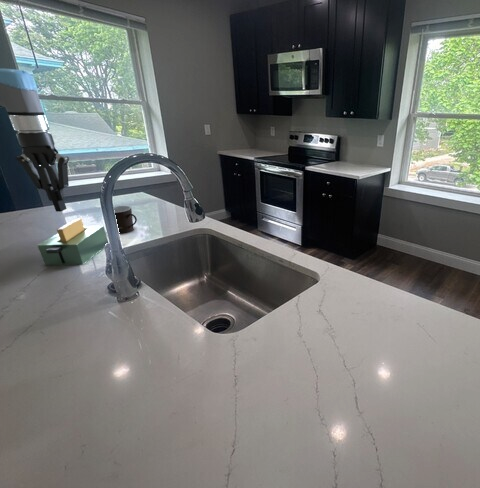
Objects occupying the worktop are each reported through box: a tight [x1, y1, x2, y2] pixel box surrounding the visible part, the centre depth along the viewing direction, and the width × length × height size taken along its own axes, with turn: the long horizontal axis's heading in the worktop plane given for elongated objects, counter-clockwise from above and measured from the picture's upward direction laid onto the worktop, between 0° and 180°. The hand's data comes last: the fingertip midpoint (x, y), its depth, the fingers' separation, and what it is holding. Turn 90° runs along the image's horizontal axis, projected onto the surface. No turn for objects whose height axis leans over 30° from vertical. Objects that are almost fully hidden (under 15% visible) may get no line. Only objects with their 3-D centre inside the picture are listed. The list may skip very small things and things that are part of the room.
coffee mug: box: [113, 205, 138, 235], centre depth 120 cm, size 12×9×10 cm
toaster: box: [37, 225, 109, 266], centre depth 102 cm, size 11×16×8 cm
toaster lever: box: [46, 247, 63, 254], centre depth 92 cm, size 3×2×1 cm
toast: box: [56, 218, 85, 242], centre depth 101 cm, size 2×10×11 cm, turn 8°
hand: (61, 210), depth 95 cm, fingers closed
